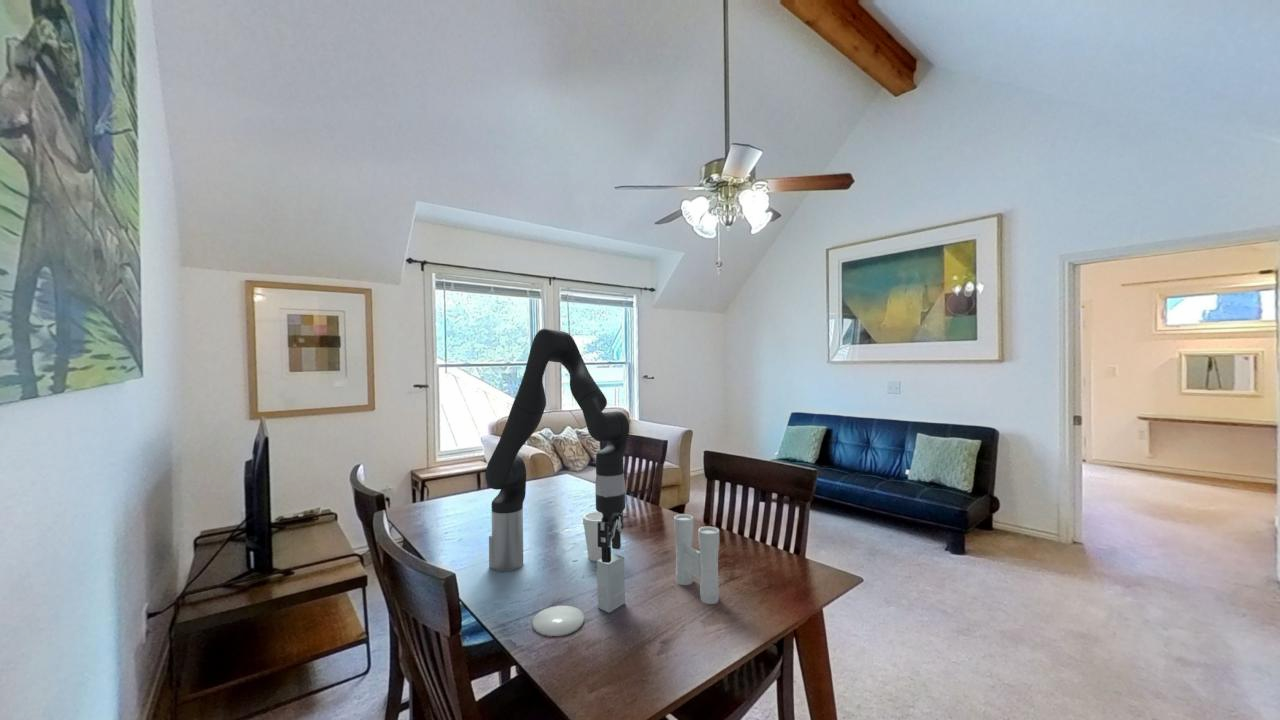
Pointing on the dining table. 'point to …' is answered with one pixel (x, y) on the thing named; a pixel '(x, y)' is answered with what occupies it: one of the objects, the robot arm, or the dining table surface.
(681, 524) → the binoculars
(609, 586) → the skincare box
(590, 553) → the foam cup
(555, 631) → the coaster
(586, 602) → the dining table surface
